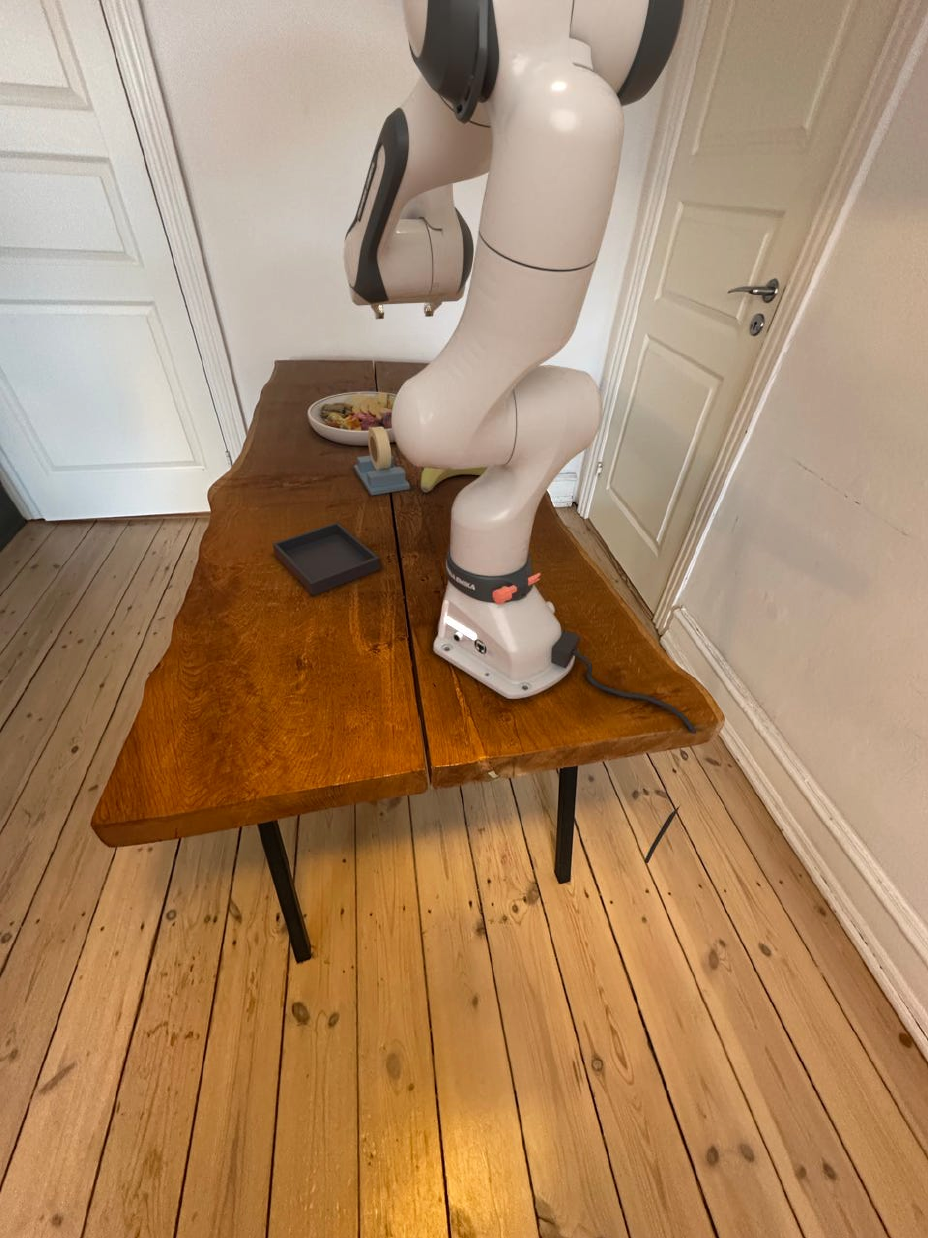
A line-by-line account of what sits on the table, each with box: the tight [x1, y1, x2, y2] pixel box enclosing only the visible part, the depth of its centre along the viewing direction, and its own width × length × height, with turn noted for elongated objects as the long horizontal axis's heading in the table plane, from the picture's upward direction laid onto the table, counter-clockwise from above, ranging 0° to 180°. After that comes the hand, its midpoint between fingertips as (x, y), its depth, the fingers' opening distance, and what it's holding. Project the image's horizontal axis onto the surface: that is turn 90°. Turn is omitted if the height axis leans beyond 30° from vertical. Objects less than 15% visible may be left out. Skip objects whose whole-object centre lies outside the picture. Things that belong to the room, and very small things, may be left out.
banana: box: [420, 467, 488, 493], centre depth 125 cm, size 14×6×20 cm
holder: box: [353, 454, 411, 496], centre depth 125 cm, size 14×9×4 cm, turn 24°
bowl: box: [307, 391, 397, 447], centre depth 146 cm, size 30×30×8 cm
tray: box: [272, 521, 381, 597], centre depth 99 cm, size 15×13×2 cm
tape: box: [368, 427, 392, 470], centre depth 121 cm, size 9×3×9 cm, turn 24°
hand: (403, 314), depth 102 cm, fingers open, 8 cm apart
